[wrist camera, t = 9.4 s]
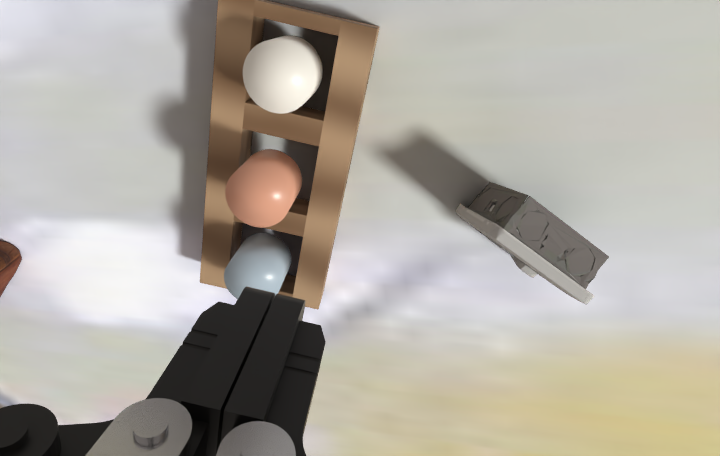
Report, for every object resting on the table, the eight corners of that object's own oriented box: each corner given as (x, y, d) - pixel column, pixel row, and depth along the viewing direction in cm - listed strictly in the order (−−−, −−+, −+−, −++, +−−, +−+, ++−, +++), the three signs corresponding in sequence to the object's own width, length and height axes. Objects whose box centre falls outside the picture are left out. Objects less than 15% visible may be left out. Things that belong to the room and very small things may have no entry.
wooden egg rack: (233, -8, 34) (218, -9, 31) (379, 26, 34) (377, 28, 31) (212, 265, 45) (199, 282, 42) (323, 291, 45) (318, 309, 42)
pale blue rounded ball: (246, 222, 40) (226, 250, 36) (297, 234, 40) (283, 263, 36) (241, 266, 42) (221, 297, 38) (290, 277, 43) (276, 310, 38)
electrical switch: (451, 208, 40) (472, 253, 31) (492, 160, 38) (525, 194, 30) (531, 266, 42) (572, 324, 33) (573, 223, 40) (628, 273, 31)
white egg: (267, 27, 33) (246, 31, 29) (329, 42, 33) (318, 48, 29) (260, 91, 35) (239, 104, 31) (319, 105, 35) (306, 120, 31)
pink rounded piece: (250, 139, 36) (228, 159, 31) (308, 153, 36) (294, 174, 31) (244, 193, 38) (222, 219, 33) (299, 206, 38) (285, 233, 33)
